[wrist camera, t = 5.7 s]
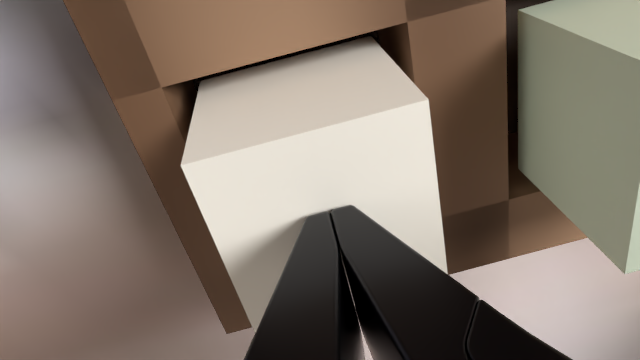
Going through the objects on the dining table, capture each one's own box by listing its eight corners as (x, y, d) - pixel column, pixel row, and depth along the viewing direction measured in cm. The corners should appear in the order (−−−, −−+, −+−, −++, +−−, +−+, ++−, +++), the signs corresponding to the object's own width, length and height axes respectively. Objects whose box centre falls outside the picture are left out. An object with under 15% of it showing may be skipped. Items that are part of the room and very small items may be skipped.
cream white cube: (370, 35, 11) (428, 99, 7) (394, 180, 13) (448, 281, 10) (200, 80, 11) (180, 165, 7) (252, 218, 13) (254, 333, 10)
